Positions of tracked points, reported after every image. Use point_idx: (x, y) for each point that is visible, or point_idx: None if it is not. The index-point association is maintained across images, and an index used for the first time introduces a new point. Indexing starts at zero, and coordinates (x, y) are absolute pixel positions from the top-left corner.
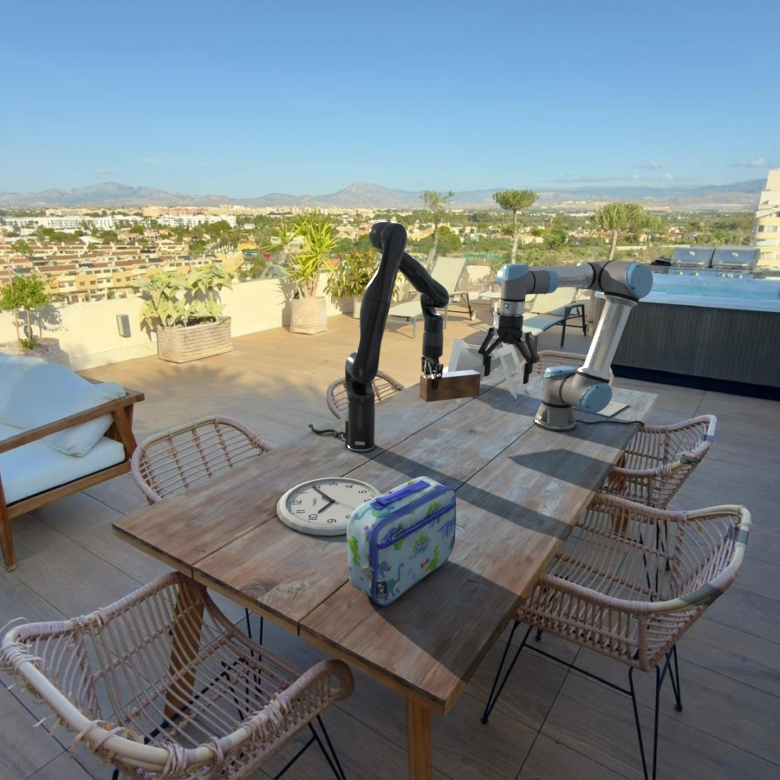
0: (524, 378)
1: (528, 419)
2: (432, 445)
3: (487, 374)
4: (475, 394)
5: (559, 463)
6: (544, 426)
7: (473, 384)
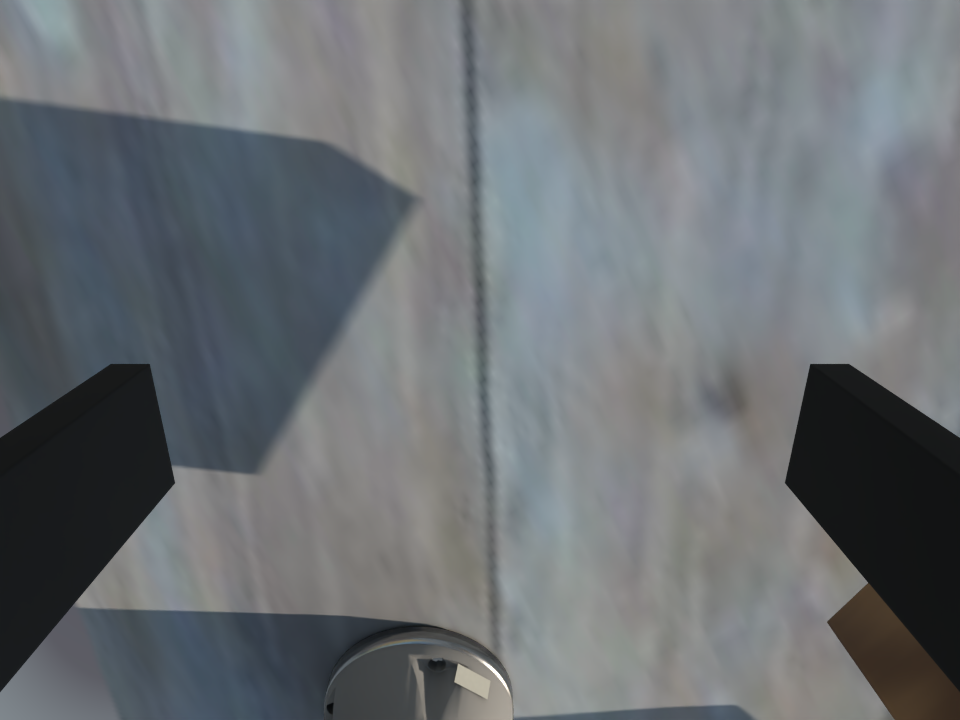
0: (71, 404)
1: (543, 682)
2: (869, 54)
3: (815, 417)
4: (857, 611)
5: (176, 298)
6: (432, 635)
7: (928, 662)
